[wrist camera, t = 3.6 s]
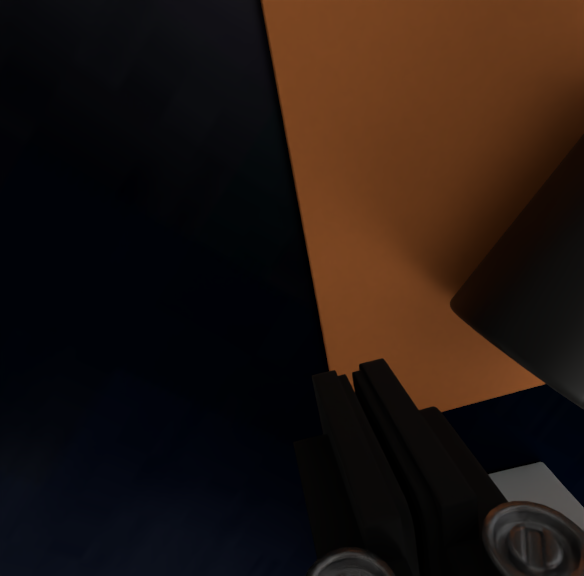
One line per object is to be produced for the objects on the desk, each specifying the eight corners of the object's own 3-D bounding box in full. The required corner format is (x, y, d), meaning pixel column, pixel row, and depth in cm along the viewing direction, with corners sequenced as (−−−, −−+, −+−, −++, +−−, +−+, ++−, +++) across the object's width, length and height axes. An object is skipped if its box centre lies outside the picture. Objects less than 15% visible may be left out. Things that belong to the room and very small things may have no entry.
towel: (239, -110, 12) (240, -115, 12) (910, -223, 14) (924, -229, 14) (340, 434, 20) (342, 438, 20) (762, 321, 22) (769, 323, 21)
